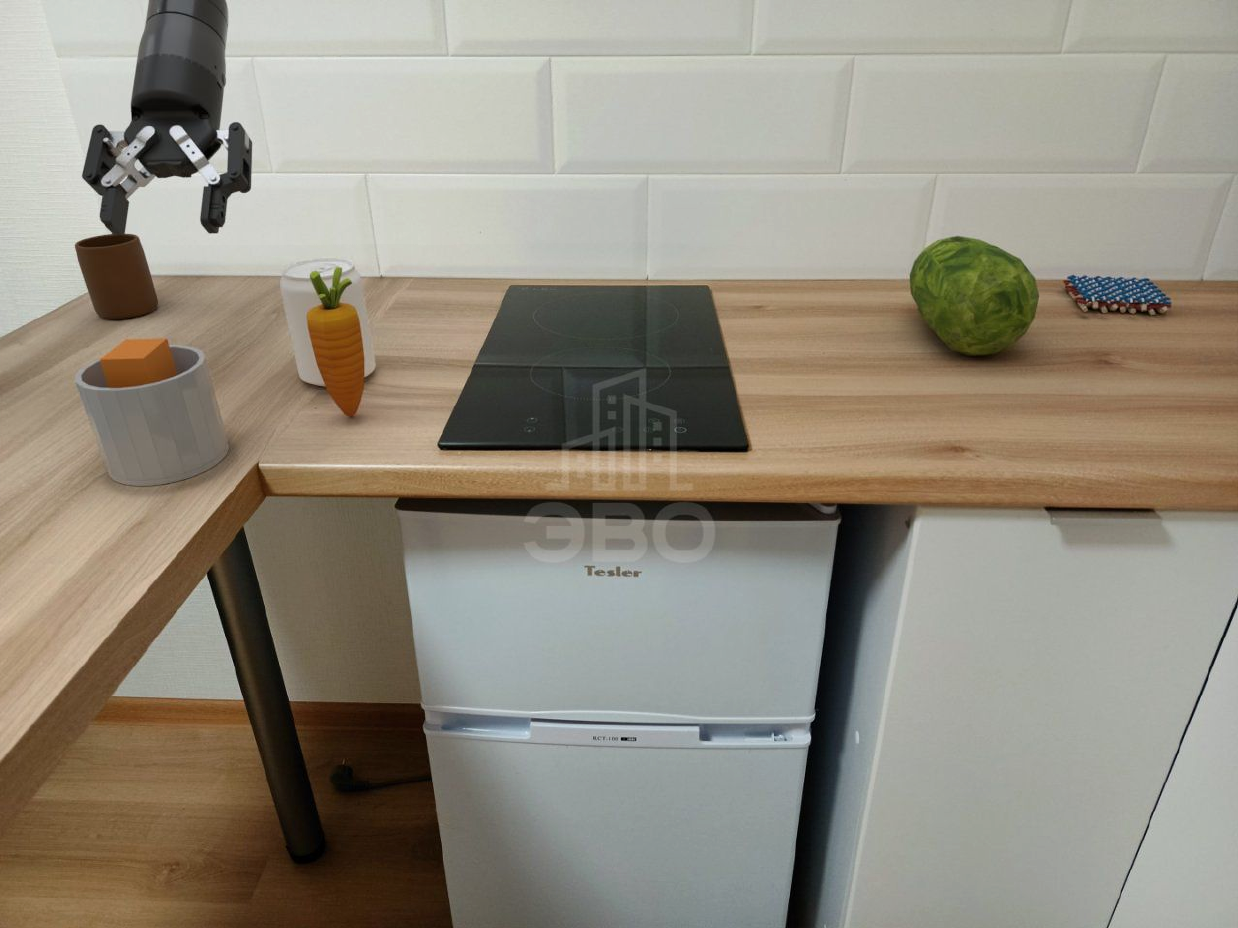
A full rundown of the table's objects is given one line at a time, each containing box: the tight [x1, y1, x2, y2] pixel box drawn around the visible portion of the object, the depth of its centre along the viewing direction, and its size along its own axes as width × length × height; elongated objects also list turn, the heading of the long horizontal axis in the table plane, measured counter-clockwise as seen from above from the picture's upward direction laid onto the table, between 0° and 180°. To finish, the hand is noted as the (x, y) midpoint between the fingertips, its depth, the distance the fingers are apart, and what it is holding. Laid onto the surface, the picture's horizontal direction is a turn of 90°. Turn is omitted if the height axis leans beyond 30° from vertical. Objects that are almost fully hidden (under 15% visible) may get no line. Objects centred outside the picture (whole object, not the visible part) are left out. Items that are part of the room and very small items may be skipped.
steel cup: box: [74, 344, 230, 487], centre depth 76 cm, size 10×10×9 cm
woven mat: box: [1062, 274, 1172, 316], centre depth 111 cm, size 10×11×2 cm
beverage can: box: [279, 257, 377, 388], centre depth 91 cm, size 8×8×12 cm
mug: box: [74, 232, 159, 320], centre depth 113 cm, size 12×8×9 cm, turn 17°
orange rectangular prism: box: [99, 337, 177, 388], centre depth 75 cm, size 4×5×10 cm
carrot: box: [307, 267, 365, 418], centre depth 81 cm, size 5×5×15 cm
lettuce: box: [909, 235, 1040, 357], centre depth 99 cm, size 12×21×11 cm, turn 2°
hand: (161, 230), depth 78 cm, fingers open, 8 cm apart
